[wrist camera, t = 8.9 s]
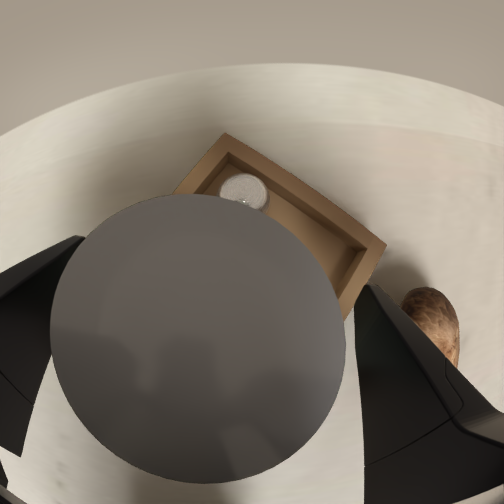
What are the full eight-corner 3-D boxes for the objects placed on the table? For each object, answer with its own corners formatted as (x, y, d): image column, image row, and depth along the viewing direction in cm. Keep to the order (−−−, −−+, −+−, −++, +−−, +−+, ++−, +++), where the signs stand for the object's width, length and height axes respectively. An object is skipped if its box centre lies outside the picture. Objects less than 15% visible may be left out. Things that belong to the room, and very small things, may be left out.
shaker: (203, 366, 15) (134, 526, 3) (164, 286, 16) (-7, 254, 3) (283, 328, 16) (424, 410, 3) (243, 248, 17) (277, 104, 4)
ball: (248, 241, 17) (251, 230, 14) (207, 213, 17) (202, 196, 14) (276, 202, 17) (284, 184, 14) (236, 176, 17) (237, 153, 14)
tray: (252, 424, 16) (255, 441, 13) (102, 318, 16) (85, 320, 14) (369, 251, 18) (386, 244, 16) (225, 151, 19) (225, 132, 16)
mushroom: (330, 389, 13) (442, 393, 9) (360, 272, 18) (448, 254, 13) (378, 415, 17) (454, 417, 12) (397, 325, 21) (465, 316, 17)
